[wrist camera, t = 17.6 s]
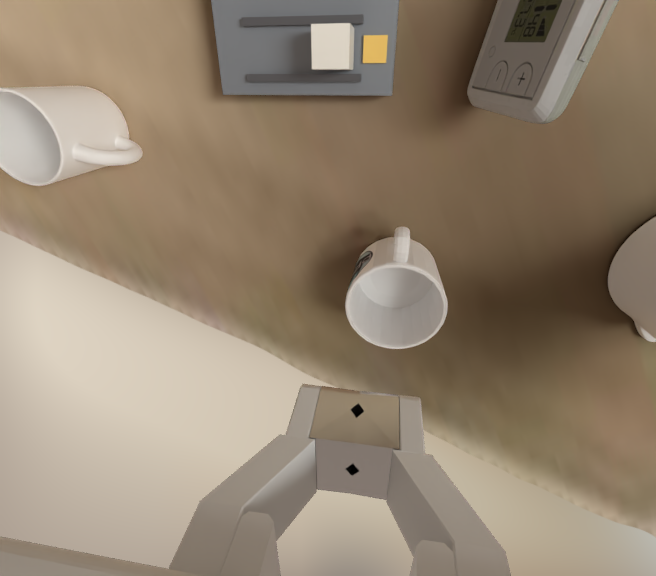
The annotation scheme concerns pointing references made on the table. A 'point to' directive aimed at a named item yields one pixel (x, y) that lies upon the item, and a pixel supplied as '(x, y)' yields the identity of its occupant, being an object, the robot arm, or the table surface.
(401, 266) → the mug
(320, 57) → the slider
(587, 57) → the digital clock
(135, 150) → the mug
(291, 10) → the switch unit
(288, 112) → the table surface
